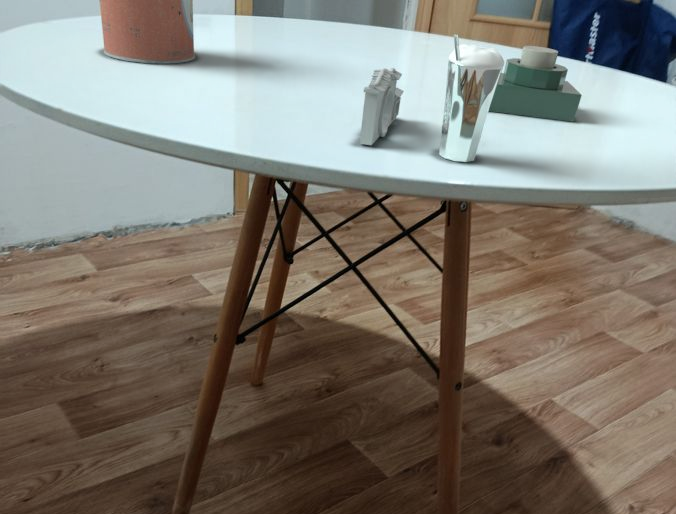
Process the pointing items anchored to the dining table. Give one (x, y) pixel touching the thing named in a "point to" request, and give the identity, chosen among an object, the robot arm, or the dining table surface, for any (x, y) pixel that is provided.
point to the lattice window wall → (380, 105)
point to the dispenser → (535, 92)
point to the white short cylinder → (539, 57)
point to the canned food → (148, 30)
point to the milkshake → (468, 98)
